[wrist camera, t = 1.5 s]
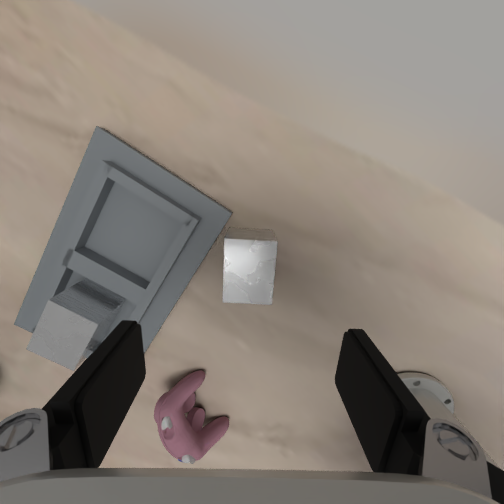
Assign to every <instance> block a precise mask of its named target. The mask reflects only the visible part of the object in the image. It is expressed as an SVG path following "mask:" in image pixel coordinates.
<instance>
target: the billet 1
mask: <svg viewBox="0 0 504 504" xmlns="http://www.w3.org/2000/svg"><path fill="white" fill-rule="evenodd" d="M125 300H126V298H124V297H122V296H120V295H118V294H117V293H115V292H113V291H111V290H109V289H107V288H105V287H103V286H101V285H100V284H98V283H96V282H94V281H92V280H90V279H88V278H85V279H83V280H81V281H80V282H78V283H76V284H75V285H73V286H71V287H69V288H68V289H66V290H64V291H63V292H61V293H59V294H58V295H56V296H54V297H52V298H51V299H49V300H48V302H47V304H46V306H45V308H44V311H43V313H42V315H41V317H40V320H39V322H38V324H37V326H36V328H35V331H34V333H33V335H32V337H31V340H30V342H29V344H28V346H27V348H26V349H27V350H29V351H31V352H33V353H35V354H38V355H40V356H42V357H44V358H46V359H49V360H51V361H53V362H55V363H58V364H60V365H62V366H64V367H66V368H69V369H71V370H73V371H74V370H75V369H76V368H77V367H78V366H79V365H80V363H81V362H82V361H83V360H84V359H85V358H86V357H87V356H88V355H89V354H90V353H91V352H92V351H93V350H94V348H95V347H96V346H97V345H98V344H99V343H100V342H101V341H102V340H103V339H104V338H105V336H106V335H107V333H108V331H109V329H110V327H111V326H112V324H113V322H114V320H115V318H116V317H117V315H118V313H119V311H120V309H121V308H122V306H123V304H124V302H125Z"/></svg>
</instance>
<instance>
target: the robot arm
mask: <svg viewBox="0 0 504 504" xmlns="http://www.w3.org/2000/svg"><path fill="white" fill-rule="evenodd" d="M145 375H146V369H145V359H144V349H143V339H142V329H141V325H140V324H138V323H137V321H133V320H122V321H121V322H120V323H119V324H118V325H117V326H116V327H115V328H114V330H113V331H112V332H111V333H110V334H109V335H108V336H107V337H106V339H105V340H104V341H103V342H102V343H101V344H100V345H99V346H98V348H97V349H96V350H95V351H94V352H93V353H92V354H91V355H90V356H89V357H88V358H87V359H86V360H85V361H84V362H83V363H82V365H81V366H80V367H79V368H78V369H77V370H76V371H75V372H74V374H73V375H72V376H71V377H70V378H69V379H68V380H67V381H66V383H65V384H64V385H63V386H62V387H61V388H60V389H59V390H58V391H57V393H56V394H55V395H54V396H53V397H52V398H51V399H50V400H49V402H48V403H47V404H46V405H45V406H44V407H43V408H42V409H38V408H32V409H26V410H23V411H20V412H17V413H15V414H13V415H11V416H9V417H7V418H6V419H4V420H3V421H1V422H0V504H504V471H503V470H501V469H500V468H499V467H498V466H497V465H496V463H495V462H494V461H493V460H492V459H491V458H490V456H489V455H488V454H487V453H486V452H485V451H484V450H483V448H482V447H481V446H480V445H479V443H478V442H477V441H476V440H475V439H474V438H473V437H472V436H471V435H470V434H469V432H468V431H467V430H466V429H465V428H464V427H463V425H462V424H461V423H460V422H459V421H458V420H457V419H456V417H455V416H454V415H453V413H454V400H453V397H452V395H451V393H450V392H449V391H448V389H447V388H446V387H445V386H444V385H443V384H442V383H441V382H440V381H439V380H437V379H435V378H434V377H432V376H429V375H426V374H422V373H399V374H397V373H396V372H395V371H394V369H393V368H392V367H391V365H390V364H389V363H388V361H387V360H386V359H385V358H384V356H383V355H382V354H381V352H380V351H379V350H378V348H377V347H376V346H375V345H374V343H373V342H372V341H371V339H370V338H369V337H368V335H367V334H366V333H365V331H364V330H362V329H349V330H348V332H345V333H344V336H343V341H342V346H341V351H340V356H339V361H338V365H337V370H336V375H335V384H336V387H337V389H338V392H339V394H340V396H341V399H342V401H343V403H344V406H345V408H346V410H347V413H348V415H349V417H350V420H351V422H352V424H353V427H354V429H355V431H356V434H357V436H358V438H359V441H360V443H361V445H362V448H363V450H364V452H365V455H366V457H367V459H368V462H369V464H370V466H371V468H372V470H373V472H351V471H307V470H257V469H191V468H98V467H99V466H100V464H101V463H102V461H103V459H104V457H105V455H106V453H107V451H108V449H109V447H110V445H111V443H112V441H113V439H114V437H115V435H116V434H117V432H118V430H119V428H120V426H121V424H122V422H123V420H124V418H125V416H126V414H127V412H128V410H129V408H130V406H131V404H132V402H133V400H134V399H135V397H136V395H137V393H138V391H139V389H140V387H141V385H142V383H143V381H144V379H145Z"/></svg>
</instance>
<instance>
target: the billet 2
mask: <svg viewBox="0 0 504 504" xmlns="http://www.w3.org/2000/svg"><path fill="white" fill-rule="evenodd" d="M277 243H278V241H277V239H276V237H275V234H274V232H273V230H267V229H249V228H231V227H229V230H228V232H227V234H226V236H225V238H224V273H223V302H227V303H247V304H267V305H272V297H273V286H274V276H275V265H276V254H277Z"/></svg>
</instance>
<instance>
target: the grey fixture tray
mask: <svg viewBox="0 0 504 504" xmlns="http://www.w3.org/2000/svg"><path fill="white" fill-rule="evenodd" d="M232 213H233V212H231V211H230V210H228V209H227V208H225V207H224V206H222V205H221V204H219V203H218V202H216V201H214V200H213V199H211V198H210V197H208V196H207V195H205V194H204V193H202V192H201V191H199V190H198V189H196V188H194V187H193V186H191V185H190V184H188V183H187V182H185V181H184V180H182V179H181V178H179V177H177V176H176V175H174V174H173V173H171V172H170V171H168V170H167V169H165V168H164V167H162V166H160V165H159V164H157V163H156V162H154V161H153V160H151V159H150V158H148V157H147V156H145V155H144V154H142V153H140V152H139V151H137V150H136V149H134V148H133V147H131V146H130V145H128V144H127V143H125V142H123V141H122V140H120V139H119V138H117V137H116V136H114V135H113V134H111V133H110V132H108V131H106V130H105V129H103V128H101V127H98V126H96V128H95V131H94V133H93V135H92V138H91V140H90V143H89V145H88V147H87V150H86V152H85V155H84V157H83V159H82V162H81V164H80V167H79V169H78V171H77V174H76V176H75V179H74V181H73V183H72V186H71V188H70V191H69V193H68V196H67V198H66V200H65V203H64V205H63V208H62V210H61V212H60V215H59V217H58V220H57V222H56V224H55V227H54V229H53V232H52V234H51V236H50V239H49V241H48V244H47V246H46V248H45V251H44V253H43V256H42V258H41V260H40V263H39V265H38V268H37V270H36V272H35V275H34V277H33V280H32V282H31V284H30V287H29V289H28V292H27V294H26V296H25V299H24V301H23V304H22V306H21V308H20V311H19V313H18V316H17V318H16V320H15V323H14V325H16V326H19V327H21V328H23V329H25V330H27V331H29V332H31V333H34V331H35V328H36V326H37V324H38V322H39V320H40V317H41V315H42V313H43V311H44V308H45V306H46V304H47V302H48V300H49V299H51V298H52V297H54V296H56V295H58V294H59V293H61V292H63V291H64V290H66V289H68V288H69V287H71V286H73V285H75V284H76V283H78V282H80V281H81V280H83V279H85V278H88V279H90V280H92V281H94V282H96V283H98V284H100V285H101V286H103V287H105V288H107V289H109V290H111V291H113V292H115V293H117V294H118V295H120V296H122V297H124V298H126V300H125V302H124V304H123V306H122V308H121V309H120V311H119V313H118V315H117V317H116V318H115V320H114V322H113V324H112V326H111V327H110V329H109V331H108V333H107V335H106V336H105V338H104V339H103V340H102V341H101V342H100V343H99V344H98V345H97V346H96V347H95V348H94V350H93V351H92V352H91V353H90V354H89V355H88V356H87V357H86V358H88V357H89V356H90V355H91V354H92V353H93V352H94V351H95V350H96V349H97V348H98V346H99V345H100V344H101V343H102V342H103V341H104V340H105V339H106V337H107V336H108V335H109V334H110V333H111V332H112V331H113V330H114V328H115V327H116V326H117V325H118V324H119V323H120V322H121V321H122V320H133V321H137V323H138V324H140V325H141V329H142V339H143V349H144V353H145V351H146V350H147V348H148V347H149V345H150V343H151V342H152V340H153V339H154V337H155V335H156V334H157V332H158V331H159V329H160V327H161V326H162V324H163V323H164V321H165V319H166V318H167V316H168V315H169V313H170V311H171V310H172V308H173V307H174V305H175V303H176V302H177V300H178V299H179V297H180V296H181V294H182V292H183V291H184V289H185V288H186V286H187V284H188V283H189V281H190V280H191V278H192V276H193V275H194V273H195V272H196V270H197V268H198V267H199V265H200V264H201V262H202V260H203V259H204V257H205V256H206V254H207V252H208V251H209V249H210V248H211V246H212V245H213V243H214V241H215V240H216V238H217V237H218V235H219V233H220V232H221V230H222V229H223V227H224V225H225V224H226V222H227V221H228V219H229V217H230V216H231V214H232Z"/></svg>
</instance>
